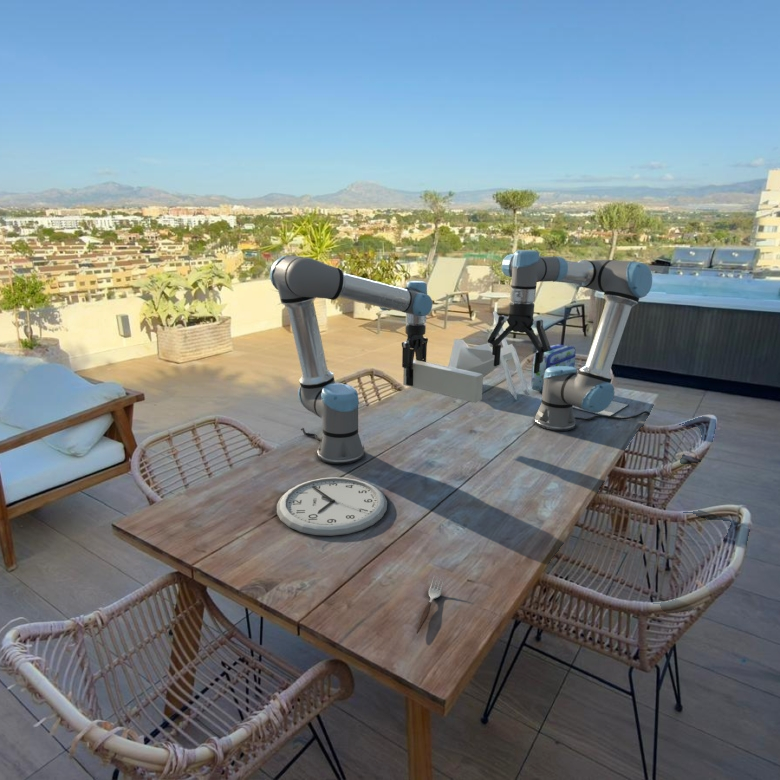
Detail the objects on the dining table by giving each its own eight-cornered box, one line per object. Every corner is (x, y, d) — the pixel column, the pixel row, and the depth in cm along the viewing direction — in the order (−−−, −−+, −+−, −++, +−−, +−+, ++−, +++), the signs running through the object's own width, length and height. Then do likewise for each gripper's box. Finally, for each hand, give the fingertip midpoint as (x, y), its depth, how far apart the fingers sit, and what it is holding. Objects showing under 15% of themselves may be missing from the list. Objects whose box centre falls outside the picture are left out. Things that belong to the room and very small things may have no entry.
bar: (481, 399, 186) (483, 373, 183) (474, 402, 182) (476, 376, 180) (410, 382, 205) (411, 358, 203) (403, 384, 202) (403, 361, 199)
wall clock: (392, 527, 129) (268, 531, 127) (391, 533, 130) (269, 537, 127) (383, 473, 158) (282, 475, 155) (383, 478, 158) (282, 480, 156)
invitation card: (608, 416, 214) (573, 407, 224) (608, 416, 214) (573, 408, 224) (628, 404, 229) (594, 396, 238) (628, 405, 229) (594, 397, 238)
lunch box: (547, 397, 237) (552, 352, 231) (526, 391, 245) (531, 348, 238) (574, 386, 255) (580, 344, 249) (554, 381, 262) (559, 340, 256)
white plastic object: (461, 429, 252) (437, 405, 227) (444, 352, 274) (420, 323, 250) (535, 404, 240) (518, 377, 215) (510, 326, 262) (492, 293, 237)
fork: (410, 633, 98) (410, 625, 97) (432, 582, 112) (433, 574, 112) (423, 637, 97) (423, 628, 96) (444, 585, 111) (445, 577, 111)
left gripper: (421, 319, 203) (419, 377, 210) (392, 325, 190) (391, 386, 197) (437, 321, 199) (434, 380, 206) (409, 328, 186) (407, 390, 193)
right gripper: (480, 299, 165) (475, 364, 171) (557, 307, 151) (549, 378, 157) (490, 297, 171) (486, 360, 177) (566, 305, 157) (558, 373, 163)
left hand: (413, 383), depth 201 cm, fingers closed on bar, 5 cm apart
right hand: (515, 368), depth 167 cm, fingers open, 13 cm apart
